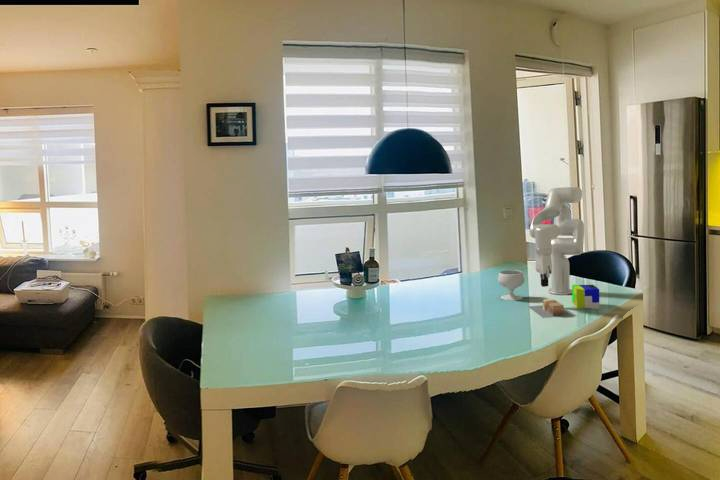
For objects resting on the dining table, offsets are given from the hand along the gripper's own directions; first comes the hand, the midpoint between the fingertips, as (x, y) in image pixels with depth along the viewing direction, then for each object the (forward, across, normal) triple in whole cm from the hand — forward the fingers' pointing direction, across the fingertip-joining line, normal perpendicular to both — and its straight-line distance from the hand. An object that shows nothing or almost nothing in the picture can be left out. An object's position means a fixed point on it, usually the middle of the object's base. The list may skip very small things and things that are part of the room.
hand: (544, 286), depth 228 cm
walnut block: (+8, +6, -1) cm, 10 cm away
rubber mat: (+11, +9, -1) cm, 14 cm away
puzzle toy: (+12, +3, +19) cm, 23 cm away
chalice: (+12, -20, -11) cm, 25 cm away
